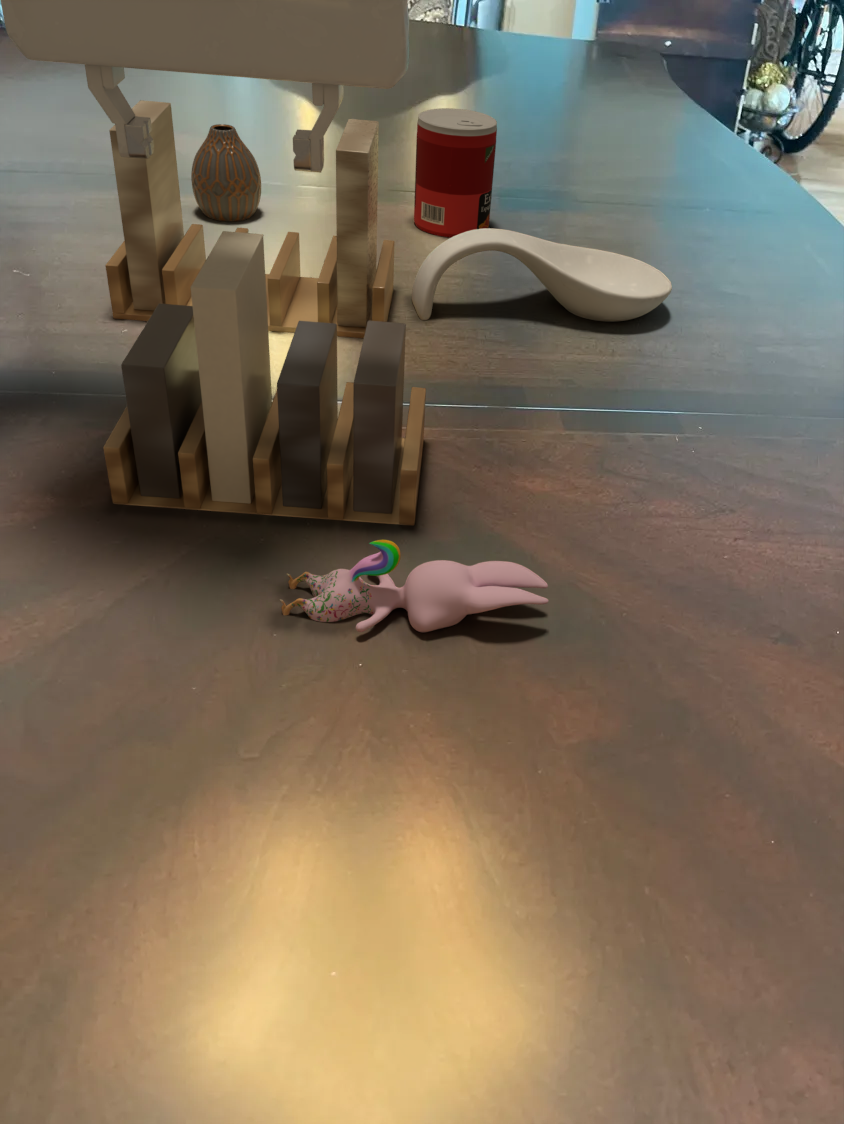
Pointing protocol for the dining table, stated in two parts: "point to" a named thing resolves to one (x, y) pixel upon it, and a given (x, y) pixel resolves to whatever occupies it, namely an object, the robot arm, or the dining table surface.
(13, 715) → the dining table surface
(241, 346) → the white book
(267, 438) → the brown wooden book rack
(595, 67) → the dining table surface
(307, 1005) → the dining table surface
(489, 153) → the canned food
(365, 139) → the wooden slotted rack
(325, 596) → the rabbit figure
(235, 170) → the vase
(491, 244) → the spoon rest
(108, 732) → the dining table surface
